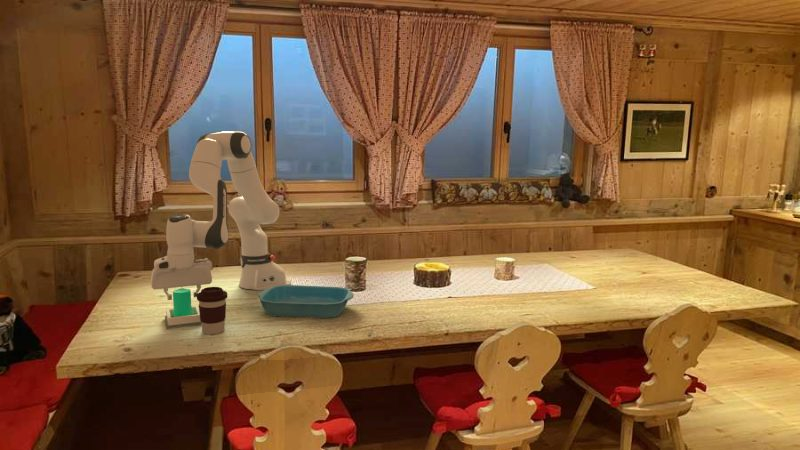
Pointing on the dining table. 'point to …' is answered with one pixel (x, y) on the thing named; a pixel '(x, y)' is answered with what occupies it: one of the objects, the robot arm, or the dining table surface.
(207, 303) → the coffee cup
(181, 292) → the candle
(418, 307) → the dining table surface
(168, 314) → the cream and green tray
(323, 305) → the casserole dish
